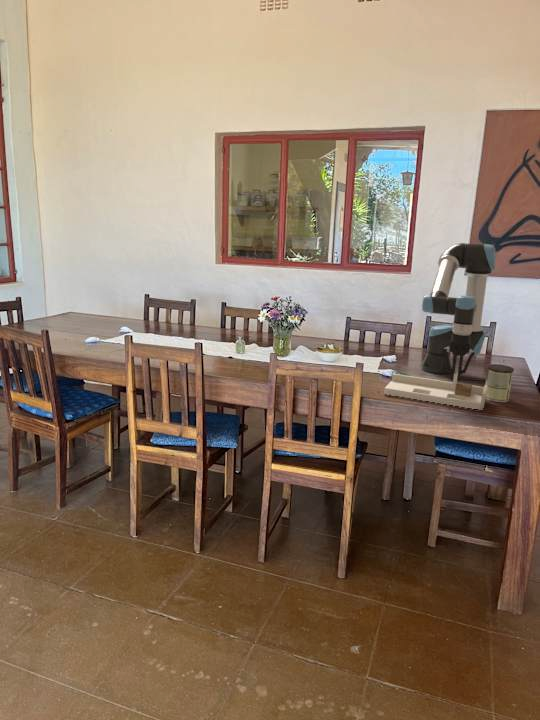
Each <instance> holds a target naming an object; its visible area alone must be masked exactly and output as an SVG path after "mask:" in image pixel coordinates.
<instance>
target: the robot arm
mask: <svg viewBox="0 0 540 720" xmlns="http://www.w3.org/2000/svg"><path fill="white" fill-rule="evenodd" d="M496 256H497V255H496V248H495V246H494V245H493V244H487V243H464V242H459V243H456V244H454V245H452V246H450V247H448V248H446V250H445V251H443V253H441V255H440V257H439V259H438V261H437V265H438V269H437V273H436V276H435V279H434V282H433V284H432V288H431V291H430V293H429V294H428V295H424V296H423V298H422V305H421V307H422V308H421V311H422V312H425V313H429V314H437V315H438V314H439V315H449V316H453V324H452V325H449V324H447V325H446V324H445V325H434V326H432V327H430V329H429V333H428V342H427V350H426V355H425V358H424V359H423V361H422V364H421V370H422V371H425V372H428V373H431V374H439V375H441V374H442V375H446V374H447V375H449V374H450V381H452V382H453V386H452V388H453V389H455V388H456V384H457V383H458V382H460V381H461V377H462V374H466V373H467V370H468V367H469V365H470V363H471V361H472V358H473V357H474V356H478V355H480V354H481V352H482V349H483V345H484V341H485V339H486V335H487V333H486V332H484V327H483V326H481V324H482V318H483V310H484V302H485V297H486V295H485V294H486V287H487V282H488V281H487V280H488V277H489V276H490V275H491V274H492V271H495V270H496V260H497V259H496ZM459 268H460V269H465V270H464V271H465V272H464V273H465V274H466V275H467V283H466V289H465V290H466V291H465V295H458V296H457V297H450V296H449V294H450V291H451V287H452V283H453V280H454V277H455V272H456V271H457V270H458V269H459ZM451 353H452V355H453V356H452V357H453V358H452V359H451ZM466 355H469V356H468V358H467V360H466V363H465V365H464V368H463V363H464V358H465V357H464V356H466ZM458 356H459V361H458V368H457V369H458V370H457V371H456V365H457V360H458Z"/></svg>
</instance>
